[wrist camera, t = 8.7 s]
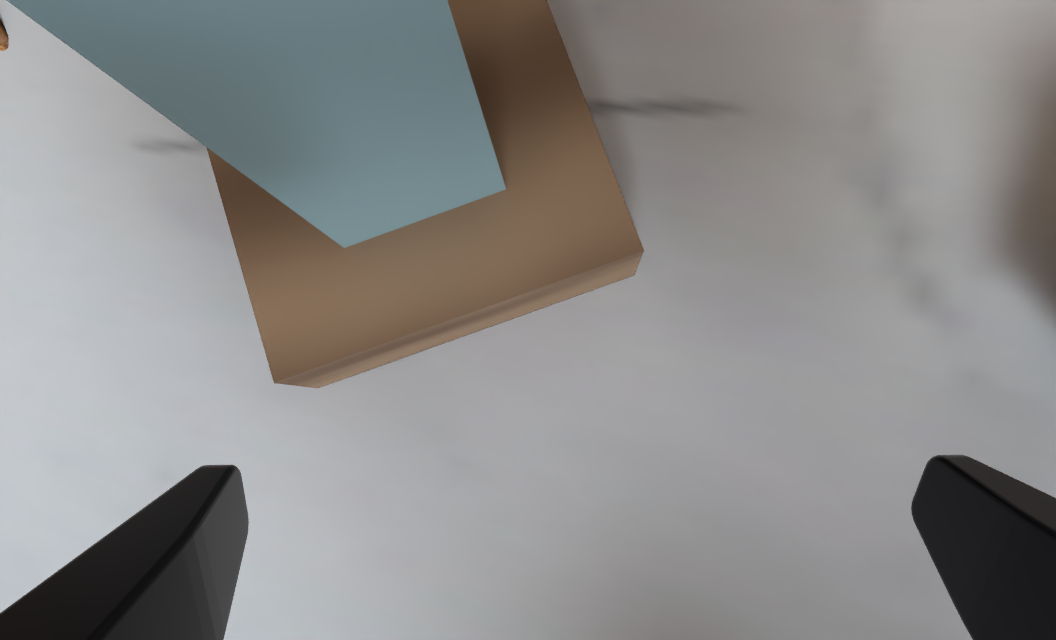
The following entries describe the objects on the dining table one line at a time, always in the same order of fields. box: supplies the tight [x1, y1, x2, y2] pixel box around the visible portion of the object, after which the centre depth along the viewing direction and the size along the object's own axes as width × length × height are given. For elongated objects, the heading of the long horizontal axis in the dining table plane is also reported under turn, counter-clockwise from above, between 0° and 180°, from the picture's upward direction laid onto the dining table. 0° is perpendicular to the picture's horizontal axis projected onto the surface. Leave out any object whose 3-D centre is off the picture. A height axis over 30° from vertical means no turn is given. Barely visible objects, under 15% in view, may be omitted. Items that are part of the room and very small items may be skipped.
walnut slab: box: [207, 0, 644, 388], centre depth 20 cm, size 10×10×3 cm
